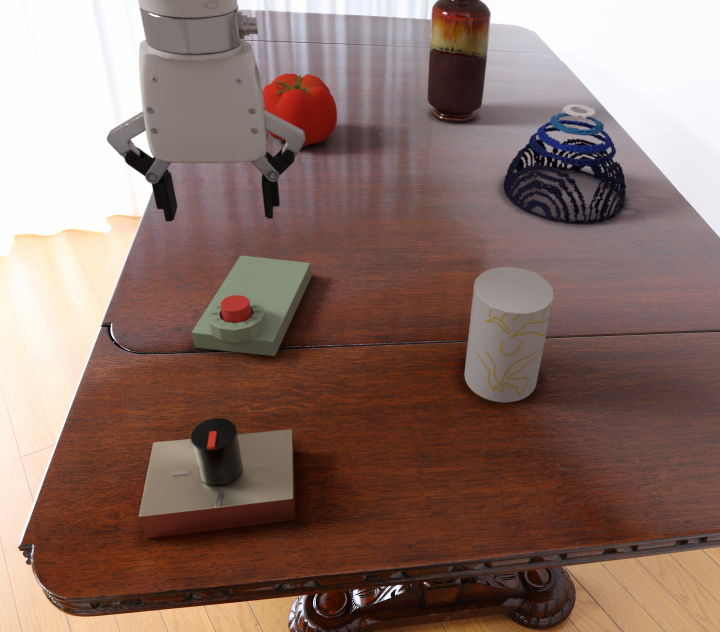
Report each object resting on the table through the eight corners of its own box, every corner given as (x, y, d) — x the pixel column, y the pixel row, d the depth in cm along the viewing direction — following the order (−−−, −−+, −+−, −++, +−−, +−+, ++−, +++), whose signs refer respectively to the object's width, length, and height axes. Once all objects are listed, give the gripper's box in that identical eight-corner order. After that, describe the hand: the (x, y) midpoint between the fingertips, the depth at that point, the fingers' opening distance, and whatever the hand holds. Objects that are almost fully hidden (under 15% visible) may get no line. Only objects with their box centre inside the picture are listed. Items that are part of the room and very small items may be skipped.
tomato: (271, 122, 127) (265, 65, 120) (342, 127, 128) (341, 71, 122) (254, 152, 116) (247, 91, 110) (332, 157, 117) (330, 97, 111)
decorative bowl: (537, 157, 125) (549, 78, 116) (639, 190, 118) (660, 109, 109) (482, 196, 111) (491, 109, 102) (594, 236, 103) (615, 147, 95)
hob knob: (201, 455, 60) (192, 416, 57) (244, 451, 61) (237, 413, 58) (196, 487, 57) (186, 449, 54) (241, 483, 58) (234, 445, 55)
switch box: (272, 362, 75) (269, 333, 72) (191, 353, 75) (184, 324, 72) (311, 277, 88) (309, 250, 86) (242, 269, 88) (238, 243, 86)
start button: (246, 325, 74) (244, 312, 73) (218, 322, 74) (216, 309, 73) (254, 308, 76) (253, 296, 75) (228, 306, 76) (226, 293, 75)
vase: (418, 107, 140) (424, -33, 124) (467, 103, 144) (479, -33, 128) (438, 127, 132) (448, -19, 116) (489, 123, 136) (505, -19, 121)
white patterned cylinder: (472, 405, 72) (483, 315, 65) (458, 355, 78) (466, 268, 71) (545, 399, 74) (564, 311, 67) (525, 351, 80) (541, 265, 73)
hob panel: (146, 539, 56) (138, 515, 54) (159, 464, 62) (152, 441, 60) (295, 520, 59) (292, 497, 57) (294, 450, 65) (292, 427, 63)
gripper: (299, 21, 61) (310, 193, 72) (88, 13, 58) (132, 197, 68) (301, 46, 56) (312, 229, 66) (66, 40, 52) (118, 236, 62)
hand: (221, 212), depth 67 cm, fingers open, 8 cm apart
